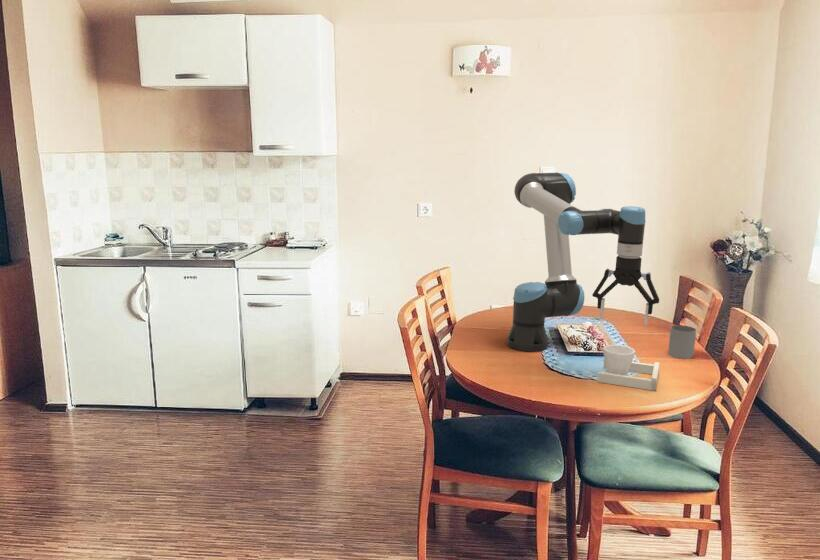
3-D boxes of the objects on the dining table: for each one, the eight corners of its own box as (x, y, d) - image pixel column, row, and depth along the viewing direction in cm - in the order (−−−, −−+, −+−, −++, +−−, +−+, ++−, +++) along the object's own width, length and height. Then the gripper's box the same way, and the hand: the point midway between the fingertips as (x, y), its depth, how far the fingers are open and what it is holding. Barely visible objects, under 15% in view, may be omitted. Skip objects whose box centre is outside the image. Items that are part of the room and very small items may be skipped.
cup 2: (695, 359, 227) (698, 332, 225) (670, 358, 229) (673, 331, 226) (690, 352, 235) (693, 325, 233) (666, 350, 237) (669, 324, 235)
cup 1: (594, 373, 213) (596, 346, 211) (618, 369, 217) (620, 343, 215) (614, 383, 204) (617, 355, 202) (639, 379, 208) (642, 352, 206)
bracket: (597, 381, 205) (598, 370, 204) (604, 366, 220) (604, 355, 219) (655, 390, 199) (656, 378, 198) (658, 373, 213) (659, 362, 212)
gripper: (586, 254, 203) (581, 319, 208) (671, 261, 194) (664, 329, 198) (590, 251, 210) (585, 313, 215) (672, 257, 200) (665, 322, 205)
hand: (623, 321), depth 207 cm, fingers open, 13 cm apart
